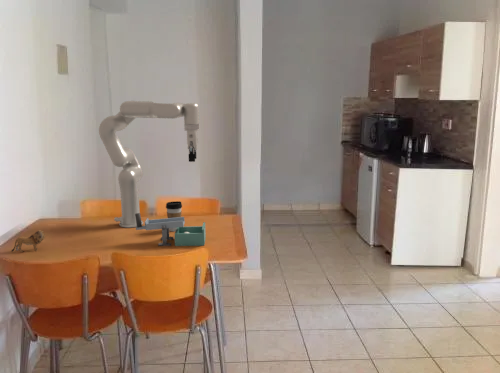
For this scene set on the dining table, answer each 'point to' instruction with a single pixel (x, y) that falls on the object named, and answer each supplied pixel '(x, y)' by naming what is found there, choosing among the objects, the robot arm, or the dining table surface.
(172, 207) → the coffee cup
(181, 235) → the bin
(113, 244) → the dining table surface
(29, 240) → the lion figurine
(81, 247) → the dining table surface
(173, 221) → the chute
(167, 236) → the chute stand
